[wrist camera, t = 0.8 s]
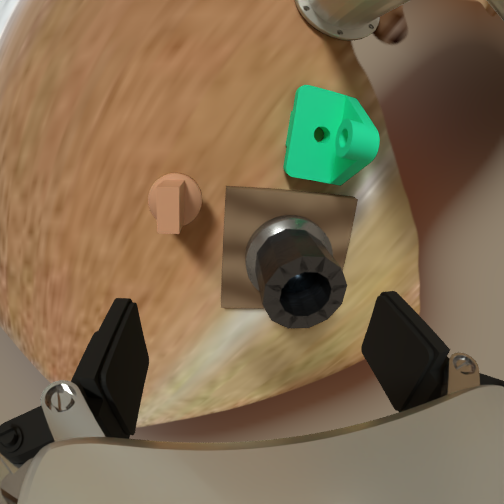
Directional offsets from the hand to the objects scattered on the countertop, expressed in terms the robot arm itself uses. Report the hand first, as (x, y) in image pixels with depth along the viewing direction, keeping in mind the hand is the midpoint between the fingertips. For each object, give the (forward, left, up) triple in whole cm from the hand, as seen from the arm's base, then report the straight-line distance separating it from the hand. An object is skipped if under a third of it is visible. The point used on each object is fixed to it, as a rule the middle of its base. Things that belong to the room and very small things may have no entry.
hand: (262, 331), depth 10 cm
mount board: (+9, +8, -28) cm, 31 cm away
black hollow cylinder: (+9, +8, -27) cm, 29 cm away
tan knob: (+1, -7, -28) cm, 29 cm away
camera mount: (-8, +10, -29) cm, 31 cm away
